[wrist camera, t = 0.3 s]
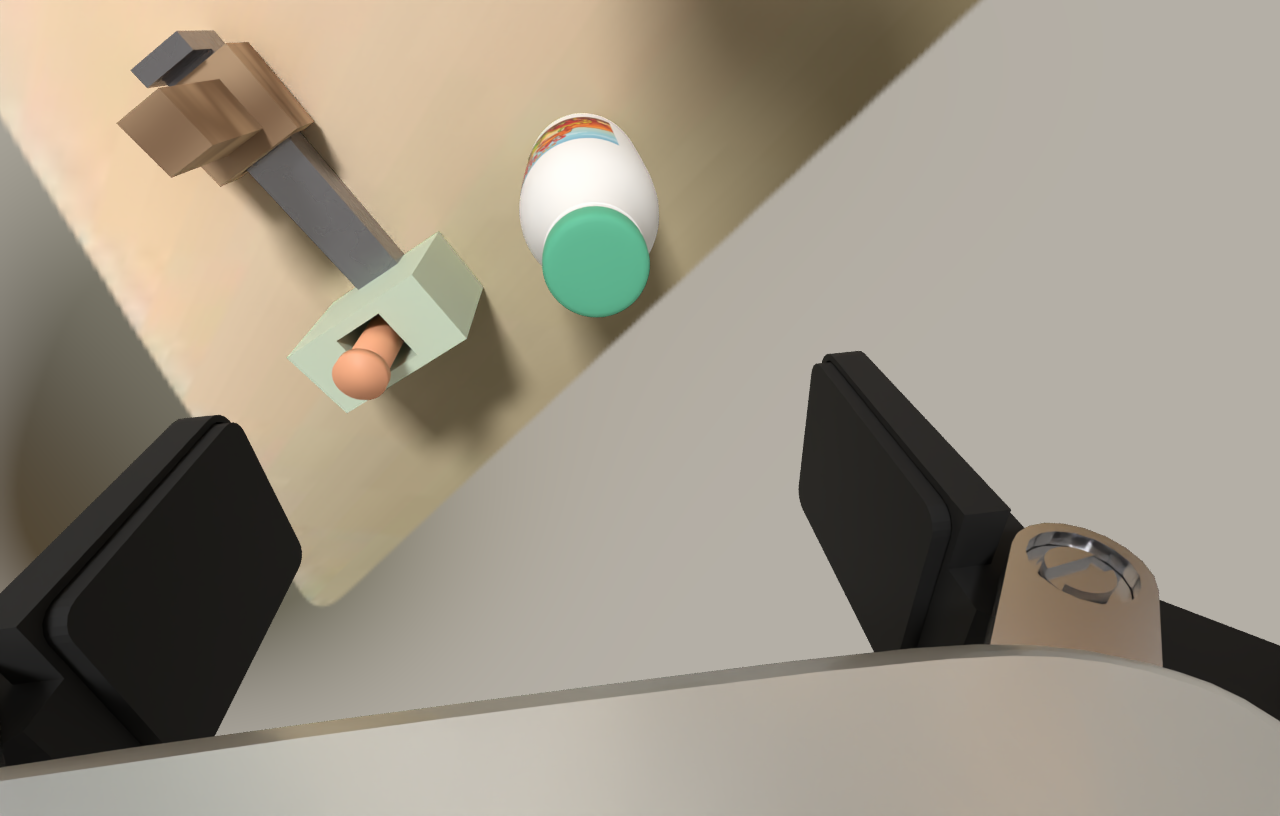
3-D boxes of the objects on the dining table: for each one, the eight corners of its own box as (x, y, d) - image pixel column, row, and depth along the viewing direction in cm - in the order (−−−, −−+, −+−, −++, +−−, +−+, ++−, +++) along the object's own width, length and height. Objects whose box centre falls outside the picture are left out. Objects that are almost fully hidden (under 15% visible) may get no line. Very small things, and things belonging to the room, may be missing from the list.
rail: (170, 66, 36) (130, 70, 33) (213, 30, 35) (176, 30, 32) (366, 280, 44) (349, 300, 41) (404, 254, 43) (390, 273, 40)
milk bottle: (649, 124, 41) (708, 193, 24) (628, 236, 44) (665, 362, 28) (535, 99, 39) (511, 155, 22) (523, 217, 43) (495, 340, 26)
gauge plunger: (355, 322, 40) (320, 371, 34) (390, 299, 39) (360, 345, 33) (388, 355, 41) (359, 408, 35) (422, 333, 40) (398, 384, 35)
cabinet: (329, 304, 45) (282, 360, 37) (438, 231, 43) (411, 274, 35) (378, 354, 47) (342, 416, 40) (483, 286, 45) (466, 338, 38)
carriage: (172, 104, 37) (73, 123, 29) (248, 42, 35) (164, 46, 28) (241, 177, 39) (165, 211, 32) (314, 121, 38) (253, 144, 31)
